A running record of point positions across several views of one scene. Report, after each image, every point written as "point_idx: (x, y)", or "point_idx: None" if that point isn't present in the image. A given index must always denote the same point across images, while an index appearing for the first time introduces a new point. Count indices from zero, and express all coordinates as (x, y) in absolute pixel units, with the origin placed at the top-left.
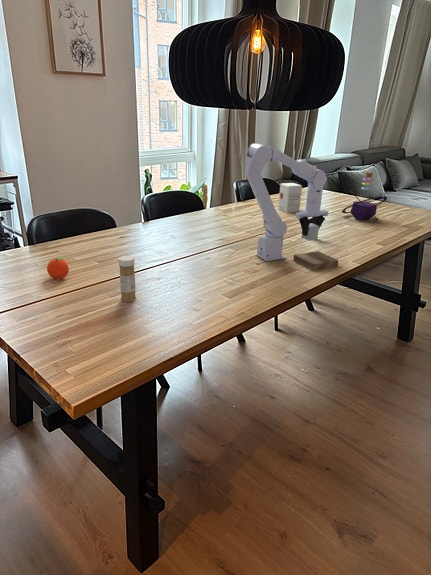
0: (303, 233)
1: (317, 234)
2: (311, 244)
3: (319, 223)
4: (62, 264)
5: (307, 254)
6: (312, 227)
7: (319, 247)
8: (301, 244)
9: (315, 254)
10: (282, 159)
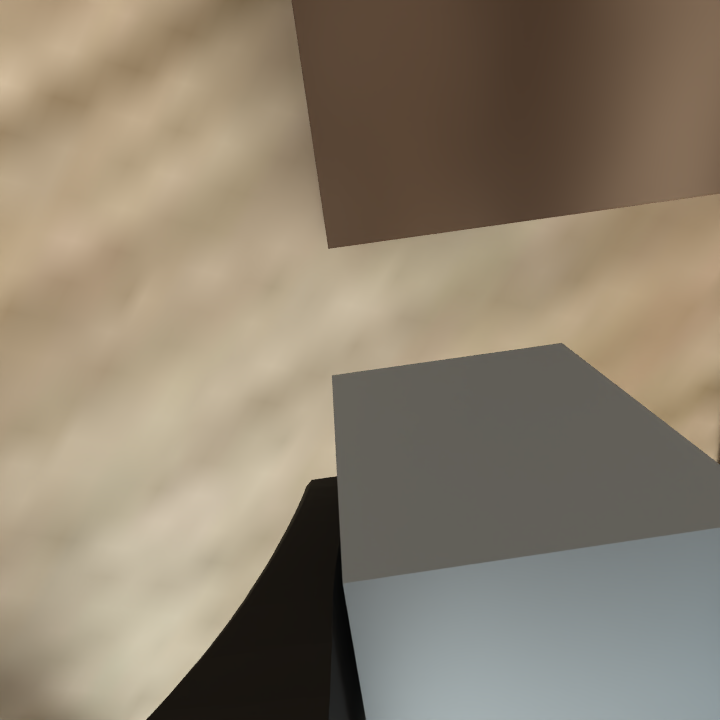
0: None
1: (350, 421)
2: (168, 647)
3: (313, 691)
4: None
5: (589, 135)
6: (636, 517)
7: (120, 550)
8: None
9: (467, 100)
10: None
